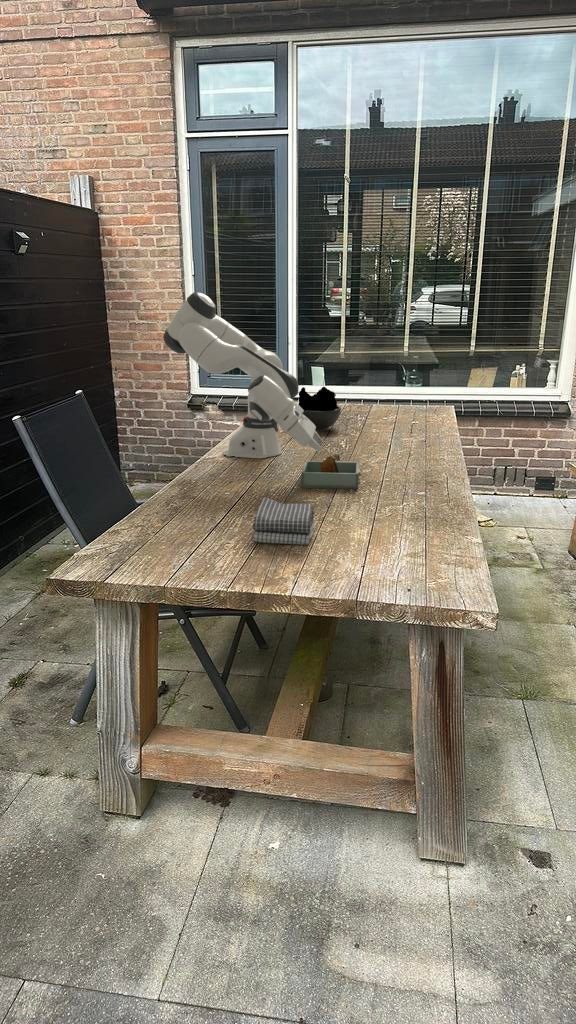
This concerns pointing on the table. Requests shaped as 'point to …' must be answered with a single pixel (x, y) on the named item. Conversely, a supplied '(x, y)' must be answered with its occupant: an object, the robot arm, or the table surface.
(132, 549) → the table surface
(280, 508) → the towel
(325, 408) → the bowl of black rocks
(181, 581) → the table surface
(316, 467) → the bin
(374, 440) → the table surface
